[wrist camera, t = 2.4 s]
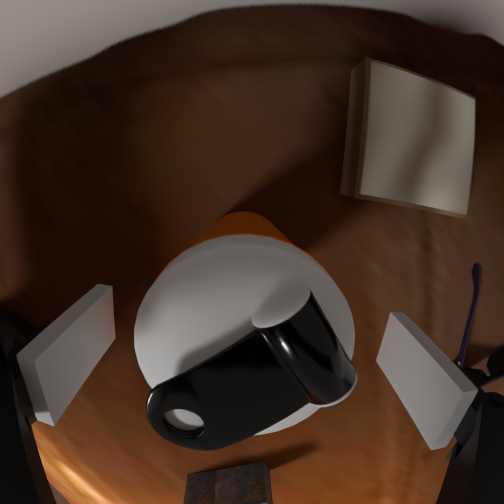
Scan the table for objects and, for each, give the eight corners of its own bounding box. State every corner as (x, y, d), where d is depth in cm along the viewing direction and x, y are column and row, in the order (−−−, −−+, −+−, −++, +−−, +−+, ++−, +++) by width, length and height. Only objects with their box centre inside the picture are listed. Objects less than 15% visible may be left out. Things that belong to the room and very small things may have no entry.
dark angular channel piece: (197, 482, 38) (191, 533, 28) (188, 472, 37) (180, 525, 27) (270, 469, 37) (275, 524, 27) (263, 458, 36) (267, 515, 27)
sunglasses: (439, 380, 34) (457, 401, 29) (454, 267, 30) (480, 281, 25) (506, 352, 34) (525, 367, 29) (524, 250, 30) (549, 260, 25)
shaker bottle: (173, 244, 28) (63, 372, 9) (249, 179, 27) (266, 192, 8) (237, 314, 30) (234, 497, 11) (312, 255, 29) (418, 393, 10)
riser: (339, 194, 28) (355, 198, 24) (351, 70, 25) (367, 55, 21) (443, 213, 28) (468, 219, 24) (453, 103, 26) (477, 97, 21)
